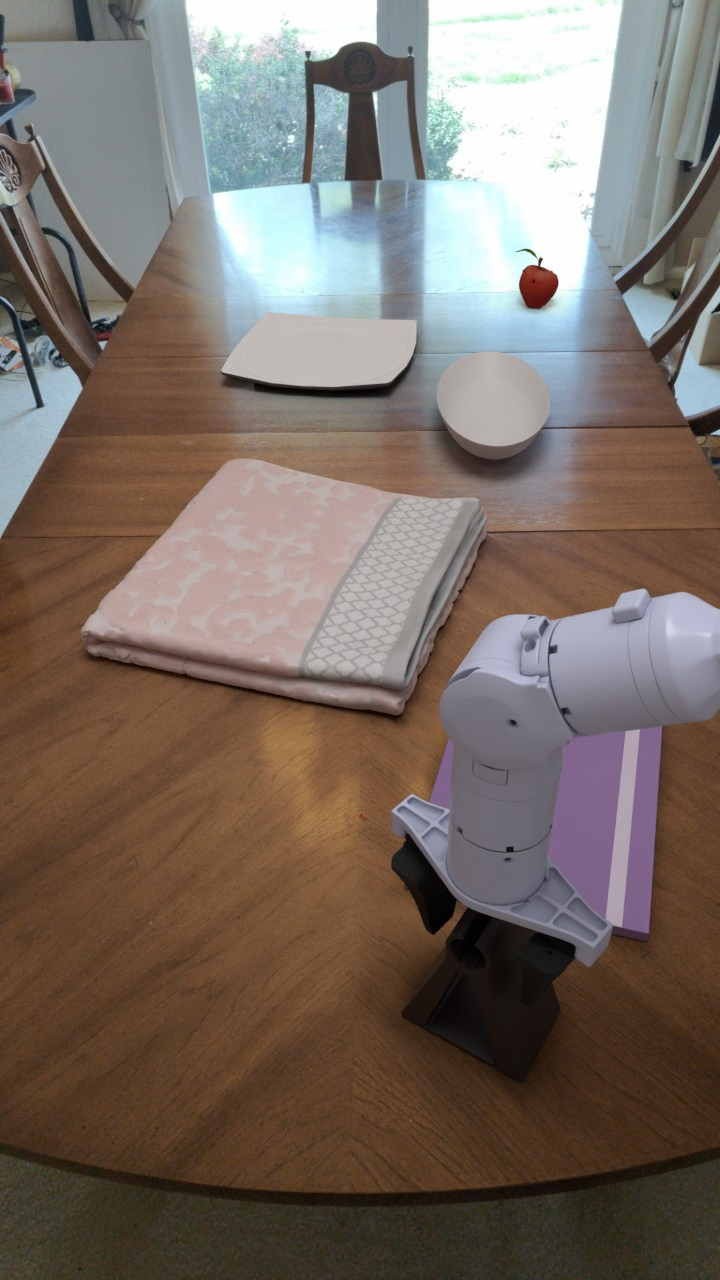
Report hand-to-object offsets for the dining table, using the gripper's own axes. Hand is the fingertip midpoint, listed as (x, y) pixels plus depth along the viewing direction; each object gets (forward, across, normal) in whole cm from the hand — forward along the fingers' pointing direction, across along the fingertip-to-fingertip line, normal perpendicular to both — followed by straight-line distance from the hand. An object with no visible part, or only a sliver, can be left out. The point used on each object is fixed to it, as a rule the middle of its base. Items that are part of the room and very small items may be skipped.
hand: (485, 957), depth 63 cm
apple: (+7, +77, -116) cm, 139 cm away
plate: (+7, +88, -74) cm, 115 cm away
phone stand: (+7, 0, 0) cm, 7 cm away
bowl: (+7, +52, -70) cm, 87 cm away
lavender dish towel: (+6, +9, -21) cm, 24 cm away
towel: (+7, +45, -27) cm, 53 cm away
